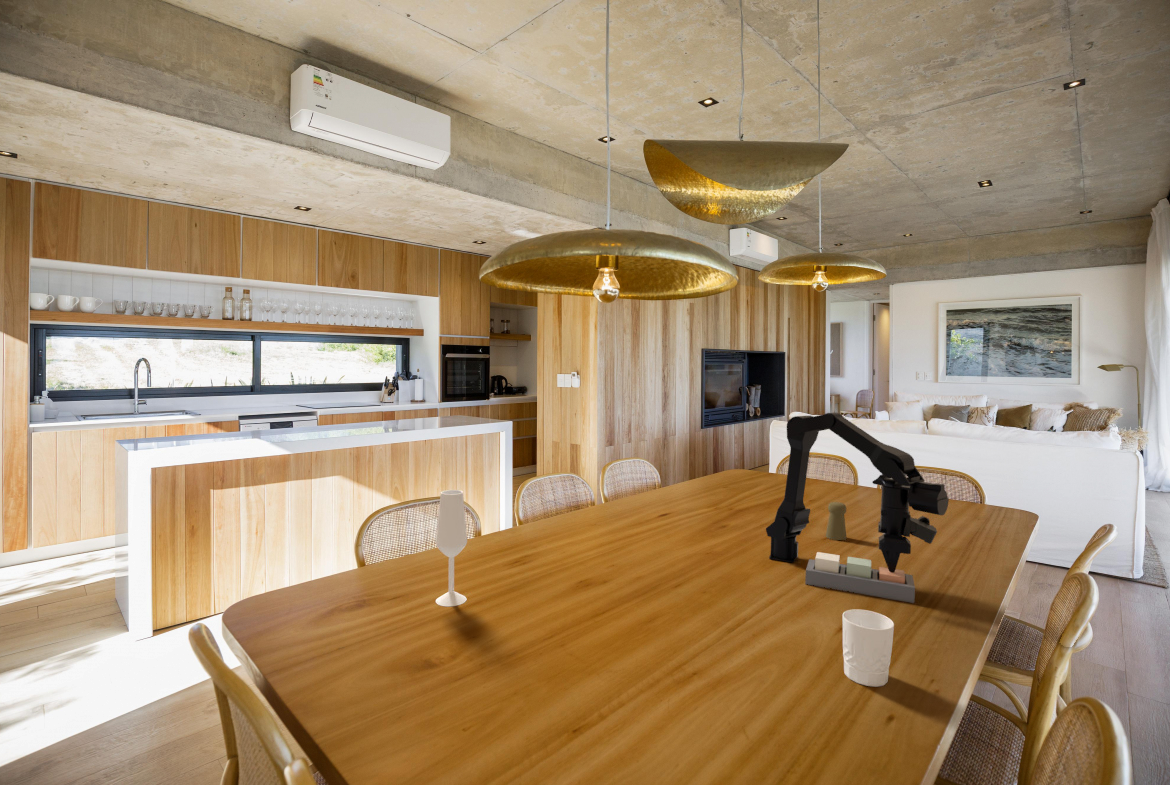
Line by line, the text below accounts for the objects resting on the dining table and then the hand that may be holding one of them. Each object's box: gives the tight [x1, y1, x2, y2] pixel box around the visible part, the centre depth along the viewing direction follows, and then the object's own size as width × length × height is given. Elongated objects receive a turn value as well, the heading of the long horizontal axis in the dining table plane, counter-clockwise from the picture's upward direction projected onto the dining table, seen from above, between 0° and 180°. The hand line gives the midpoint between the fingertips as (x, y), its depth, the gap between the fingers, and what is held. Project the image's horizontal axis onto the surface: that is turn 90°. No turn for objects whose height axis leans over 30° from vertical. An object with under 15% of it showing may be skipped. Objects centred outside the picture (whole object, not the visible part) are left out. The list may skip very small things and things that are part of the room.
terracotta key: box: [878, 566, 906, 584], centre depth 135 cm, size 5×5×4 cm
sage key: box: [846, 556, 872, 578], centre depth 138 cm, size 5×5×4 cm
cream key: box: [814, 551, 841, 573], centre depth 141 cm, size 5×5×4 cm
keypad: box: [804, 558, 916, 604], centre depth 138 cm, size 23×9×4 cm, turn 64°
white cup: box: [842, 608, 895, 688], centre depth 98 cm, size 8×8×10 cm
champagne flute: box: [435, 489, 468, 607], centre depth 126 cm, size 7×7×24 cm
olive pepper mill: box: [825, 501, 848, 541], centre depth 178 cm, size 6×6×11 cm
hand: (891, 571), depth 135 cm, fingers closed
